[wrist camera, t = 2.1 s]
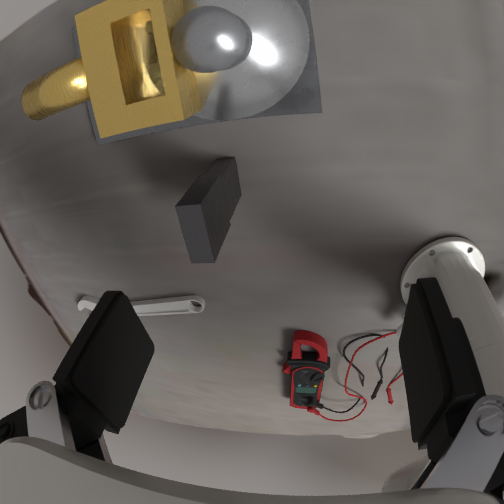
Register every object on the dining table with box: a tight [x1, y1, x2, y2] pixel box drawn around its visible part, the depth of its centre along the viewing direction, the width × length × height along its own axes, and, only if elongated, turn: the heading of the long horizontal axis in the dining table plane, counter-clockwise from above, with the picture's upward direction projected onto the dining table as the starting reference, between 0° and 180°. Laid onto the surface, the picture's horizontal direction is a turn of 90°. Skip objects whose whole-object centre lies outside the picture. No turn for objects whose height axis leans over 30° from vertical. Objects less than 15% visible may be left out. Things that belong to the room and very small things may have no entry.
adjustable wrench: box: [78, 295, 205, 316], centre depth 49 cm, size 25×6×2 cm, turn 101°
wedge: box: [175, 157, 241, 263], centre depth 29 cm, size 2×5×12 cm, turn 8°
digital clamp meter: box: [283, 330, 403, 422], centre depth 50 cm, size 23×4×25 cm
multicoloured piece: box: [22, 0, 322, 146], centre depth 22 cm, size 25×15×11 cm, turn 98°
